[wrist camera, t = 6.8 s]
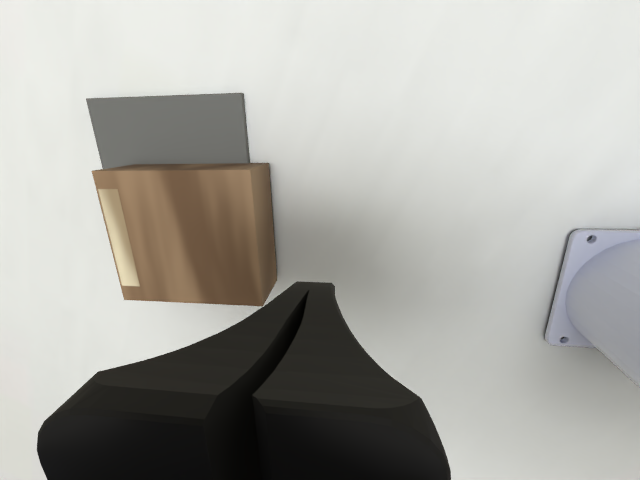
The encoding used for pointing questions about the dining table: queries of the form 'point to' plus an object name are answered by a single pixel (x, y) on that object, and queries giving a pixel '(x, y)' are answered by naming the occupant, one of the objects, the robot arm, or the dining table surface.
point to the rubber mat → (170, 129)
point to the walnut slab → (190, 231)
